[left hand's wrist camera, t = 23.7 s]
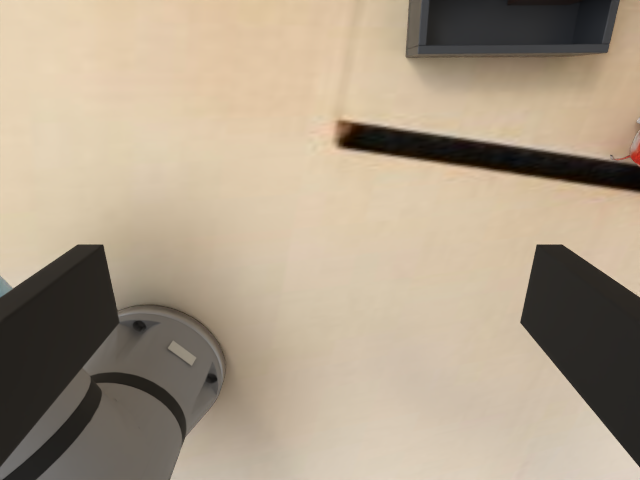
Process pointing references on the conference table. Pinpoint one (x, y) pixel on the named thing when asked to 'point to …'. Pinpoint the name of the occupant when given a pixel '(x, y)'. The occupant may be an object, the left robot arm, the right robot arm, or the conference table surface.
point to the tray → (508, 28)
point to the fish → (634, 149)
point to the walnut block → (542, 2)
